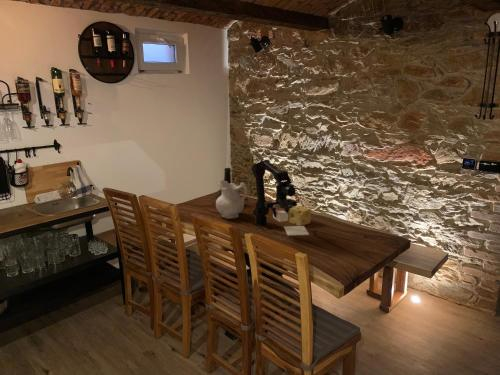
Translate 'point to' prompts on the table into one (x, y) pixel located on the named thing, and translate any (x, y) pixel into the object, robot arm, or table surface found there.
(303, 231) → the grey mat
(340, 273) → the table surface
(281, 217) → the card box
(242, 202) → the ceramic pitcher
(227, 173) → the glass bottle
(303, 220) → the cheese
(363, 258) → the table surface
